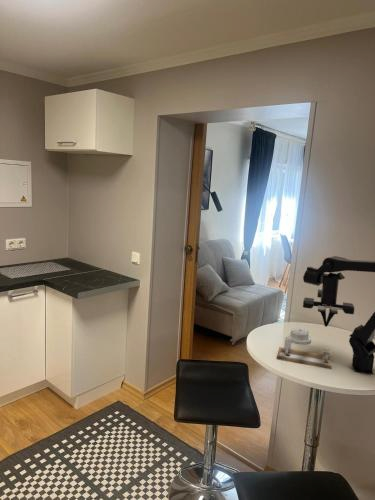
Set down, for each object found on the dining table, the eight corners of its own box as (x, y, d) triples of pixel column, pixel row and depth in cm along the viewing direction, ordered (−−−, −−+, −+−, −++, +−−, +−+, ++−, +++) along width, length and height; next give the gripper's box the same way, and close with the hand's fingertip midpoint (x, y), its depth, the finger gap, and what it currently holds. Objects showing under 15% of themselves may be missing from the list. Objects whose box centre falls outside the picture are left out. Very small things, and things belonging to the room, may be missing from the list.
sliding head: (290, 349, 150) (291, 337, 149) (289, 355, 144) (290, 343, 143) (284, 348, 150) (285, 336, 150) (283, 354, 145) (284, 342, 144)
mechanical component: (313, 345, 159) (308, 336, 169) (314, 335, 158) (309, 327, 168) (289, 343, 160) (285, 334, 170) (290, 334, 159) (286, 325, 169)
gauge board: (331, 358, 146) (332, 348, 146) (331, 369, 138) (332, 358, 137) (279, 349, 153) (280, 339, 152) (276, 358, 145) (277, 348, 144)
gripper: (354, 286, 150) (350, 323, 152) (306, 280, 156) (302, 316, 159) (356, 293, 139) (351, 332, 142) (304, 287, 146) (301, 325, 148)
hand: (325, 326), depth 148 cm, fingers closed
